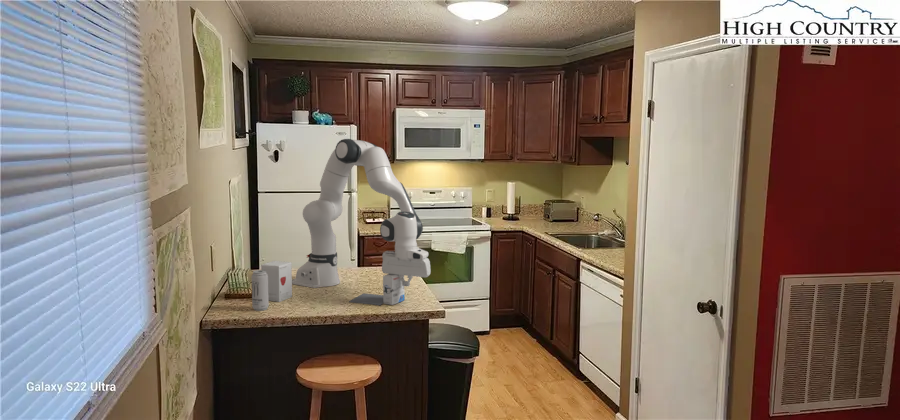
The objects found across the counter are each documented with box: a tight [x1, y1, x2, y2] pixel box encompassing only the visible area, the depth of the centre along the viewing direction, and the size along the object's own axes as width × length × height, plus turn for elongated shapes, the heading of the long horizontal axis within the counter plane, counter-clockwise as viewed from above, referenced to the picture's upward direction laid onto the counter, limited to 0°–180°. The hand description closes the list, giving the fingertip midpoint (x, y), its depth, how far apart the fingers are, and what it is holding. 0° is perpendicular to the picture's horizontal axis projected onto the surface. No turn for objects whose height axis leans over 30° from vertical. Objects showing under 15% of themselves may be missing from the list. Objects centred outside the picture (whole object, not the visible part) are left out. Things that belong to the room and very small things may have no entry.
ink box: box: [382, 274, 406, 306], centre depth 234 cm, size 9×5×12 cm, turn 148°
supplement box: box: [260, 260, 293, 303], centre depth 238 cm, size 9×9×15 cm
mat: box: [348, 292, 384, 307], centre depth 238 cm, size 14×13×1 cm
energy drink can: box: [251, 269, 270, 312], centre depth 223 cm, size 6×6×15 cm
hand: (405, 285), depth 233 cm, fingers closed
